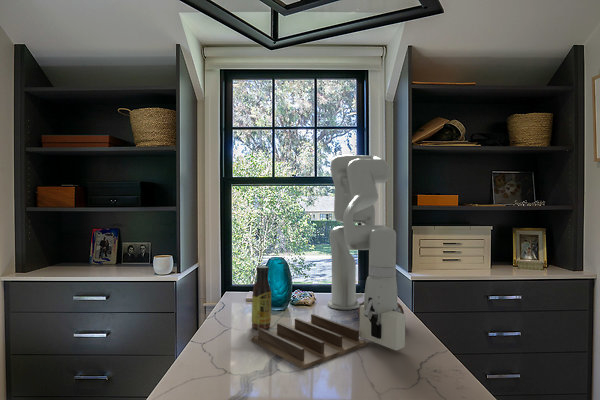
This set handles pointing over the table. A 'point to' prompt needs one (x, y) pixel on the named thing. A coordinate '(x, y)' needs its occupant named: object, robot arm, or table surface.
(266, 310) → the sauce bottle
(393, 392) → the table surface
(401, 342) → the white rectangular box
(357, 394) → the table surface
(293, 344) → the dish rack
